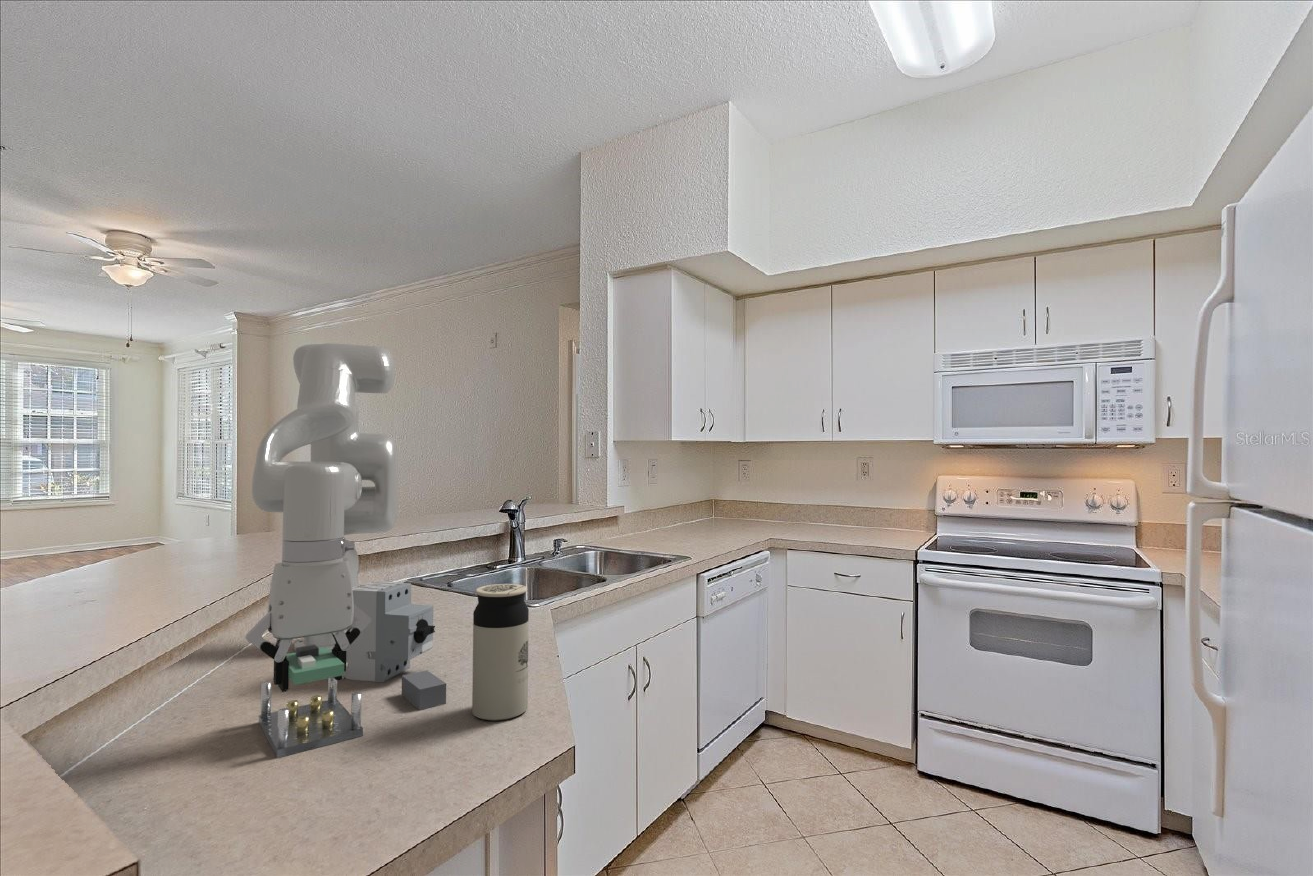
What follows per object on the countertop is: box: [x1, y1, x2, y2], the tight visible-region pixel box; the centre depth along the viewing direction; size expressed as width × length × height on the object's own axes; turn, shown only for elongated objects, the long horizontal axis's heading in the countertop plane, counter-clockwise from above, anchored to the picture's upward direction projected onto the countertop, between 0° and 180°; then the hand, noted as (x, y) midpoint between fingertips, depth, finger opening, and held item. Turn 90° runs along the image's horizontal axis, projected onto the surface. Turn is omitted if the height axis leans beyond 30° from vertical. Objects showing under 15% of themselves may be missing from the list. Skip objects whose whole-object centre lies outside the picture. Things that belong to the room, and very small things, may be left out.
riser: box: [401, 670, 447, 711], centre depth 98 cm, size 8×4×3 cm, turn 40°
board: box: [286, 645, 344, 686], centre depth 88 cm, size 10×6×2 cm, turn 40°
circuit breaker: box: [342, 581, 436, 683], centre depth 110 cm, size 8×14×15 cm, turn 78°
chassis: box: [258, 677, 364, 759], centre depth 87 cm, size 14×10×6 cm
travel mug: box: [471, 583, 530, 722], centre depth 94 cm, size 8×8×18 cm
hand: (310, 682), depth 88 cm, fingers closed on board, 6 cm apart
